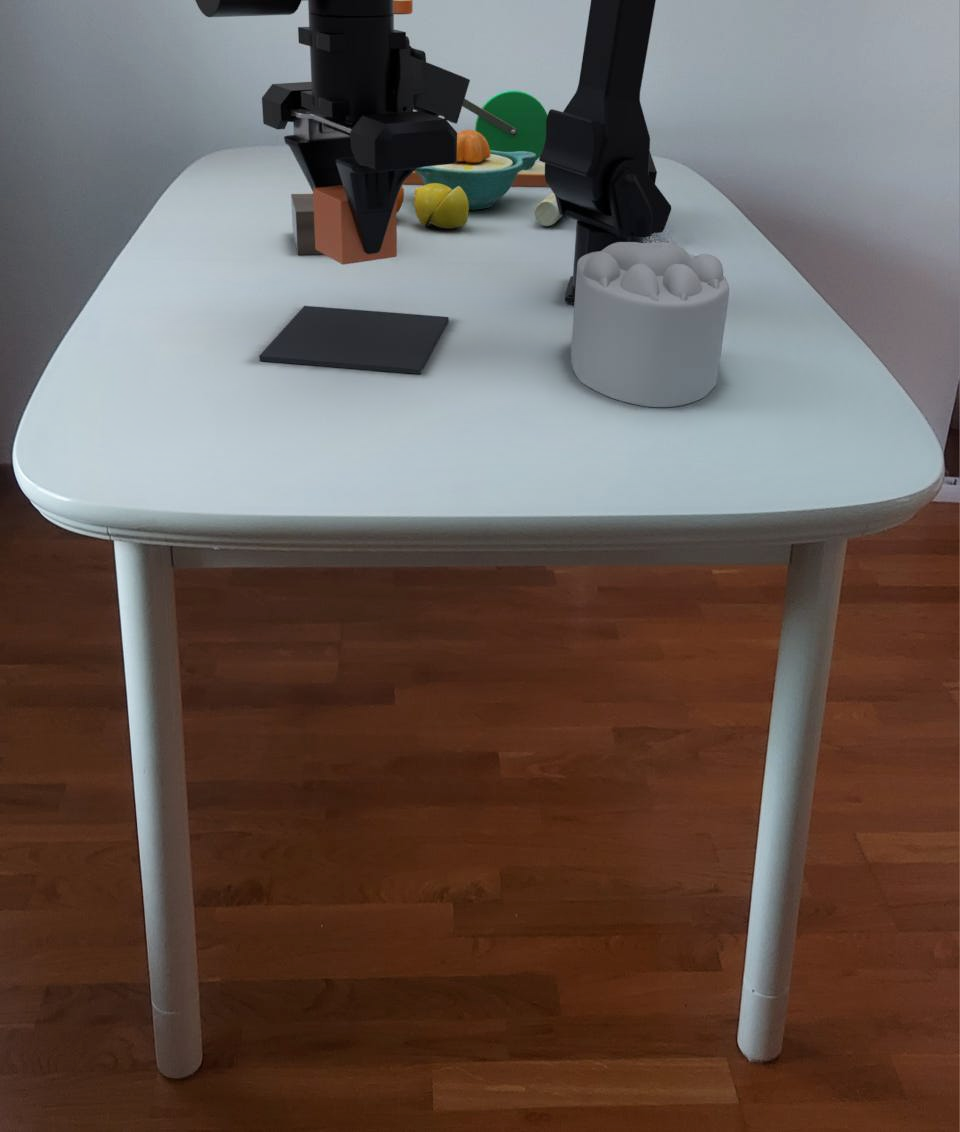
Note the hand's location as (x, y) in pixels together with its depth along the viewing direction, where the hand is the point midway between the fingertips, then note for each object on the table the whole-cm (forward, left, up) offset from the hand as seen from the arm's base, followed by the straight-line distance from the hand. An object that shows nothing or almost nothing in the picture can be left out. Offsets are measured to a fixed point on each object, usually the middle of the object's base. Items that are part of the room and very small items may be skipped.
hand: (356, 245), depth 87 cm
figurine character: (+41, -18, -8) cm, 45 cm away
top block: (0, 0, -1) cm, 1 cm away
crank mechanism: (+58, +1, -8) cm, 58 cm away
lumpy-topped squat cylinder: (-2, -22, -8) cm, 23 cm away
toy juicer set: (+42, -2, -8) cm, 43 cm away
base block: (+26, +9, -7) cm, 28 cm away
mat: (0, 0, -7) cm, 7 cm away
